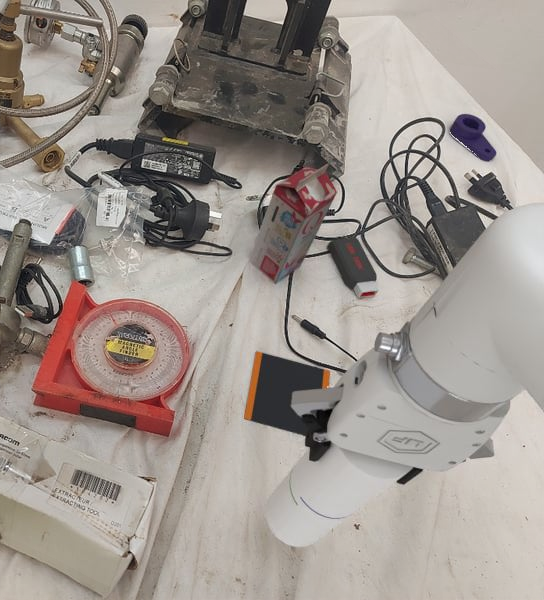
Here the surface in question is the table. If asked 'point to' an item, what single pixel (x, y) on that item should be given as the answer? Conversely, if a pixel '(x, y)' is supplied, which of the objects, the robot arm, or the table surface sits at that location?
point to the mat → (280, 390)
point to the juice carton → (292, 222)
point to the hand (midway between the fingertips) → (356, 456)
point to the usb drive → (354, 266)
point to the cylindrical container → (326, 493)
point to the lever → (473, 136)
